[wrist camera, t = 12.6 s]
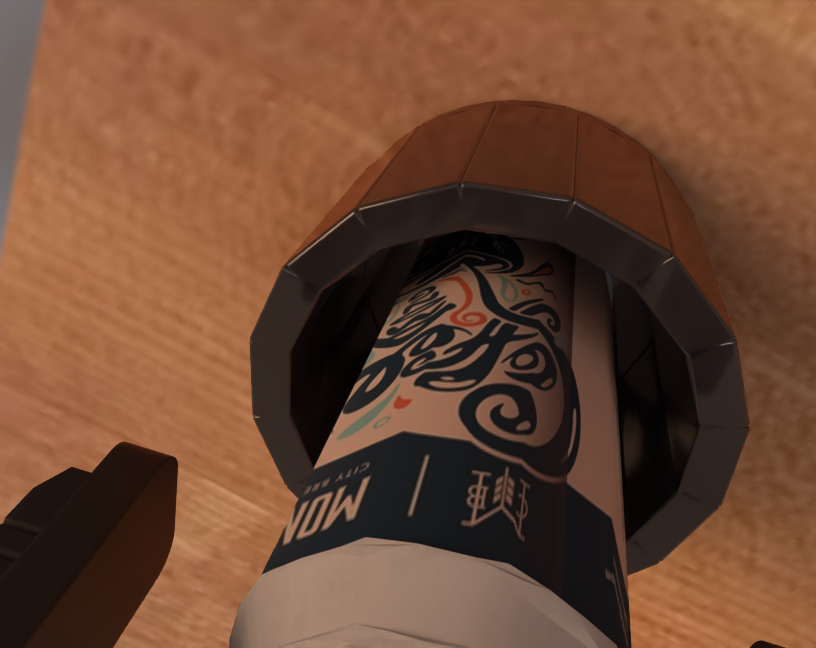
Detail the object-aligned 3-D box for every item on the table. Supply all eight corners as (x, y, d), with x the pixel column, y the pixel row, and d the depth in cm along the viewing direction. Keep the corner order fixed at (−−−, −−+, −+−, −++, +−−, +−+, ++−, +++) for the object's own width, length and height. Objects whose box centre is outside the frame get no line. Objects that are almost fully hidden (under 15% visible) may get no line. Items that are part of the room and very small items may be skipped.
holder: (289, 156, 18) (172, 254, 13) (665, 48, 15) (704, 119, 10) (402, 443, 22) (344, 609, 17) (724, 399, 19) (774, 583, 14)
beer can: (550, 152, 16) (485, 565, 6) (648, 323, 18) (728, 889, 8) (376, 250, 18) (107, 682, 8) (477, 396, 20) (356, 921, 10)
